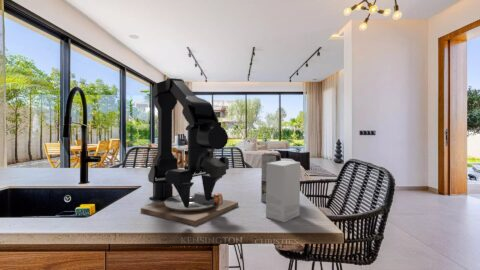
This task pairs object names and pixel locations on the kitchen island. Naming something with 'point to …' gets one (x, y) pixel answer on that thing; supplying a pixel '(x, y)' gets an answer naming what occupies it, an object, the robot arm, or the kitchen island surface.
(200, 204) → the handwheel
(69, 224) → the kitchen island surface
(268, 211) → the skincare box
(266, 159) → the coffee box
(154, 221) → the kitchen island surface
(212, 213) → the wheel base
